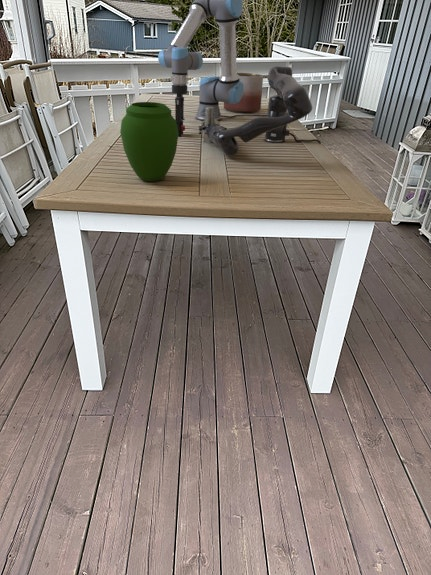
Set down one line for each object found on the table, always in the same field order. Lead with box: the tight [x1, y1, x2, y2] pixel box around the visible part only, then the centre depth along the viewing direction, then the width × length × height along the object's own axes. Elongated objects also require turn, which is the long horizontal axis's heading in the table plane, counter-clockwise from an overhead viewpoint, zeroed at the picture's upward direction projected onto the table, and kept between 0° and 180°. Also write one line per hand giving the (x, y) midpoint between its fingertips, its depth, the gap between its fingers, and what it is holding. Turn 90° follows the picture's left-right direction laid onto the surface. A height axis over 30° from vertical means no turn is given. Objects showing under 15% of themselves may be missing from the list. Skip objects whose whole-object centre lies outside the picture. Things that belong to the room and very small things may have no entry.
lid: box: [181, 124, 186, 132], centre depth 206 cm, size 6×6×2 cm
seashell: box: [201, 118, 221, 126], centre depth 215 cm, size 10×6×8 cm, turn 97°
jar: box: [203, 107, 215, 144], centre depth 195 cm, size 5×5×16 cm
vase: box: [119, 101, 179, 182], centre depth 140 cm, size 20×20×24 cm
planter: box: [223, 72, 264, 114], centre depth 276 cm, size 25×25×22 cm
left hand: (179, 134), depth 208 cm, fingers closed on lid, 5 cm apart
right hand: (207, 126), depth 198 cm, fingers closed on jar, 5 cm apart
